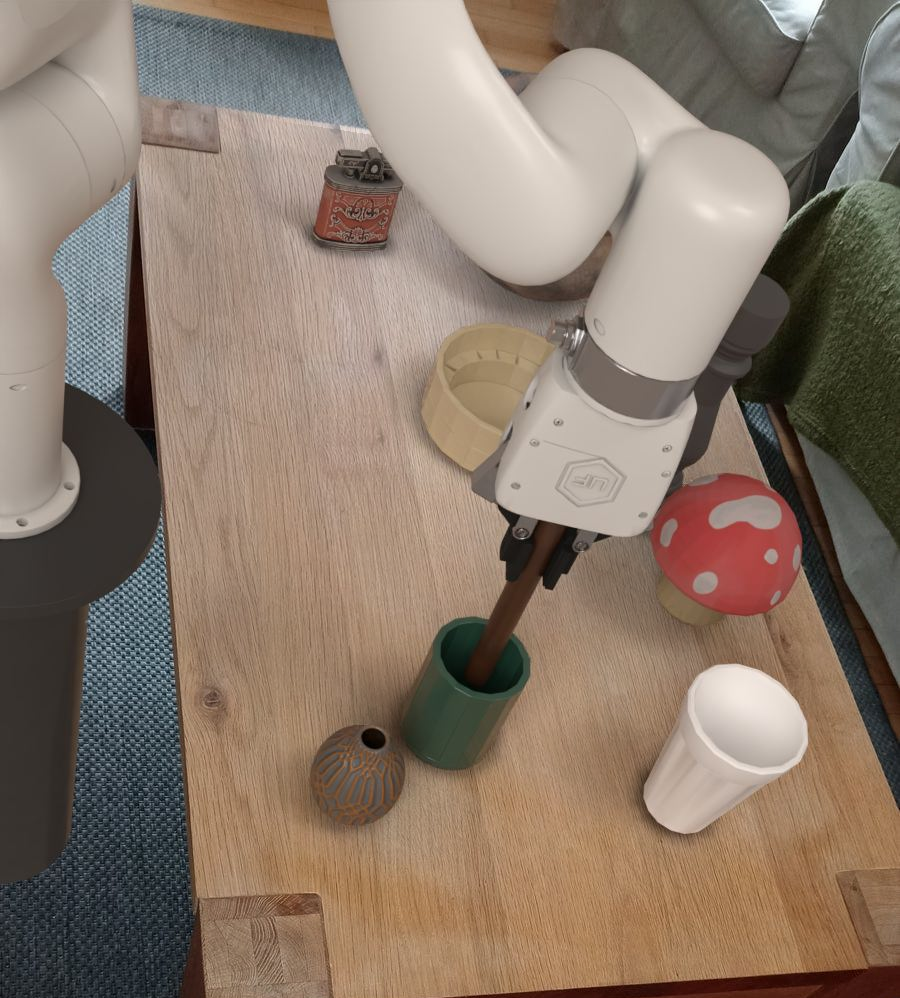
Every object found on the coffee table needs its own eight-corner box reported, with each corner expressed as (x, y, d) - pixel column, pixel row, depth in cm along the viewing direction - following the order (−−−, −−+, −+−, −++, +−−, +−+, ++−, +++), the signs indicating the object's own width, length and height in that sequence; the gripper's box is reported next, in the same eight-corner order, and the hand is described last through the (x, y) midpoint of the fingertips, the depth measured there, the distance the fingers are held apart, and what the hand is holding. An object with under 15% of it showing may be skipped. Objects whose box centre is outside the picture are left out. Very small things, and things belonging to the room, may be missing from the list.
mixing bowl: (416, 467, 120) (434, 419, 115) (422, 355, 128) (439, 306, 123) (572, 503, 123) (596, 458, 118) (569, 392, 131) (591, 346, 126)
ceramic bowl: (650, 275, 145) (710, 153, 133) (574, 375, 133) (633, 250, 120) (480, 174, 145) (524, 42, 133) (388, 263, 133) (427, 128, 121)
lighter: (381, 231, 135) (405, 143, 127) (390, 253, 134) (415, 166, 126) (306, 227, 132) (326, 137, 124) (315, 250, 131) (335, 160, 123)
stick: (462, 683, 98) (542, 522, 83) (463, 662, 99) (541, 499, 85) (488, 688, 99) (571, 528, 84) (488, 667, 100) (570, 506, 85)
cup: (690, 879, 105) (768, 798, 94) (597, 796, 106) (663, 707, 96) (752, 809, 110) (832, 725, 100) (662, 731, 112) (732, 640, 101)
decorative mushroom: (641, 675, 114) (718, 565, 102) (594, 556, 120) (661, 438, 108) (769, 667, 119) (857, 561, 107) (718, 553, 125) (796, 439, 113)
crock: (397, 761, 103) (431, 689, 94) (402, 683, 107) (435, 607, 98) (489, 777, 104) (530, 708, 96) (490, 700, 108) (530, 627, 100)
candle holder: (677, 515, 126) (807, 306, 106) (637, 540, 123) (764, 330, 102) (632, 473, 127) (752, 258, 107) (592, 496, 124) (708, 280, 104)
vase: (284, 803, 98) (306, 740, 91) (335, 745, 102) (360, 680, 95) (359, 856, 97) (388, 797, 90) (408, 795, 101) (438, 734, 94)
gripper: (499, 371, 70) (413, 588, 85) (768, 438, 73) (639, 635, 89) (500, 281, 74) (417, 504, 89) (755, 349, 77) (634, 552, 93)
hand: (529, 568), depth 89 cm, fingers closed on stick, 2 cm apart
